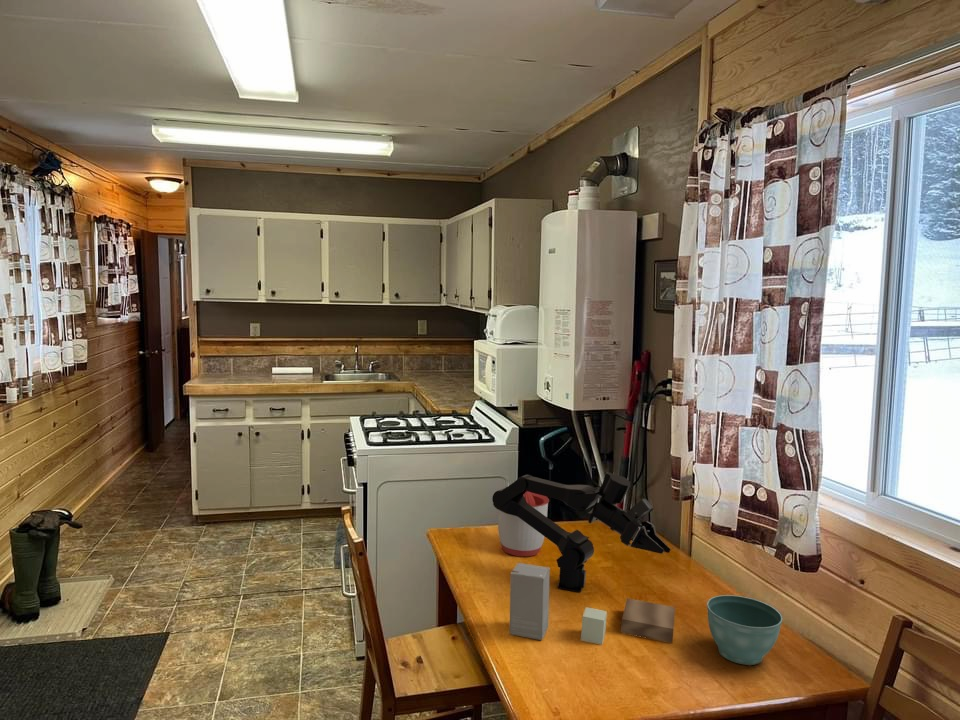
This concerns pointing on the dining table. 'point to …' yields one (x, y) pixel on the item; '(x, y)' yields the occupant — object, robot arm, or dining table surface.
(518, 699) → the dining table surface
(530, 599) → the skincare box
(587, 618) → the sage block
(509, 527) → the citrus juicer
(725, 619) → the flower pot
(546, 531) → the robot arm
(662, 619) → the walnut block
